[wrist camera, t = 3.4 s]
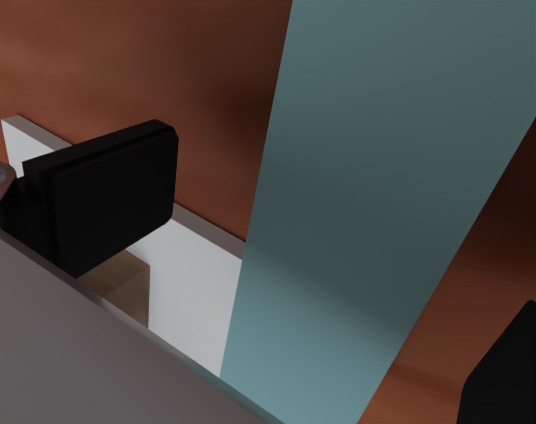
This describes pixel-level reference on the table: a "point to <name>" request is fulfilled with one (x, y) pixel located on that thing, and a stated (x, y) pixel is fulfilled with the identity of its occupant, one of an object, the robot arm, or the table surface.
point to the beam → (370, 188)
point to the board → (167, 263)
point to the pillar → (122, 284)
